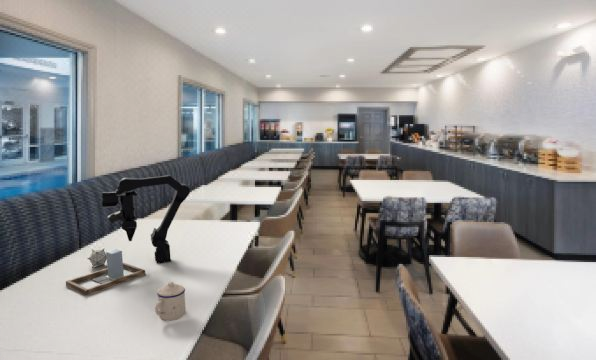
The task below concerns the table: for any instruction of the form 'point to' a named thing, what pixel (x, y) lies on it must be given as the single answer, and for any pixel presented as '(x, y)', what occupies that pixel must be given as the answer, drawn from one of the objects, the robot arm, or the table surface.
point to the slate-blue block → (114, 263)
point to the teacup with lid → (171, 302)
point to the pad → (112, 278)
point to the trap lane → (103, 279)
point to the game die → (98, 258)
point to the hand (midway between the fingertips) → (129, 238)
